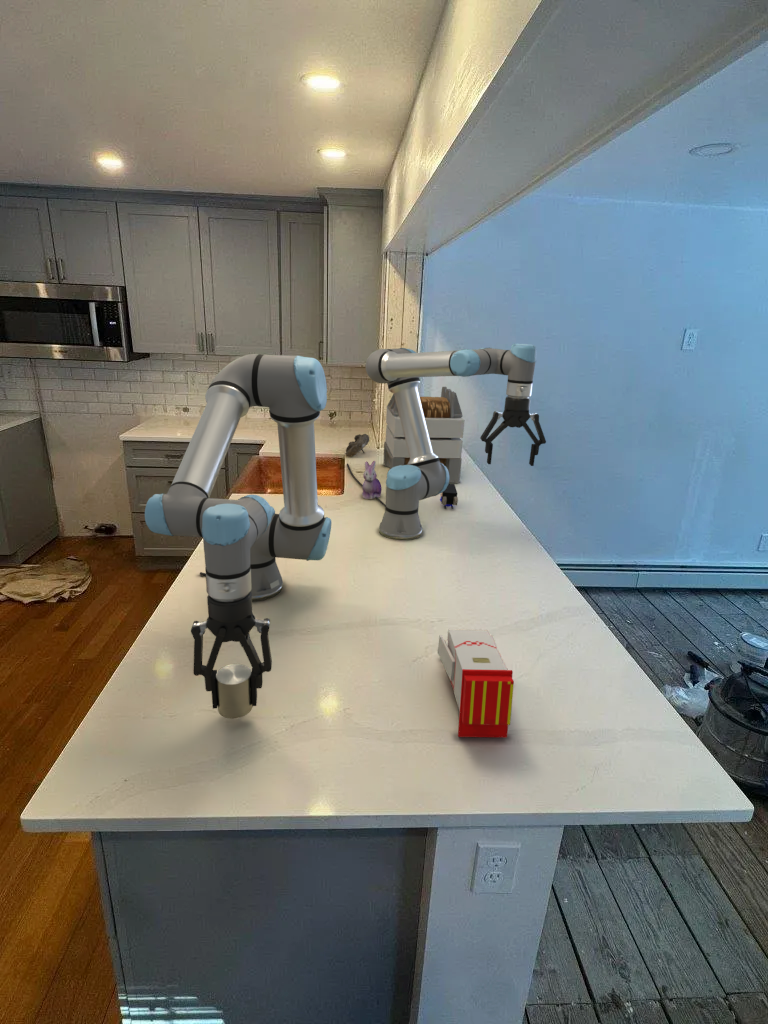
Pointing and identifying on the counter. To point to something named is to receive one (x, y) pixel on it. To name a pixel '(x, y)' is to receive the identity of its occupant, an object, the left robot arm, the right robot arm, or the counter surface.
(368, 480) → the figurine
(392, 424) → the grey slatted crate
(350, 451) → the fossil
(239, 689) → the tin
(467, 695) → the toy
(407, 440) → the right robot arm
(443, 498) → the figurine character
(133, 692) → the counter surface
